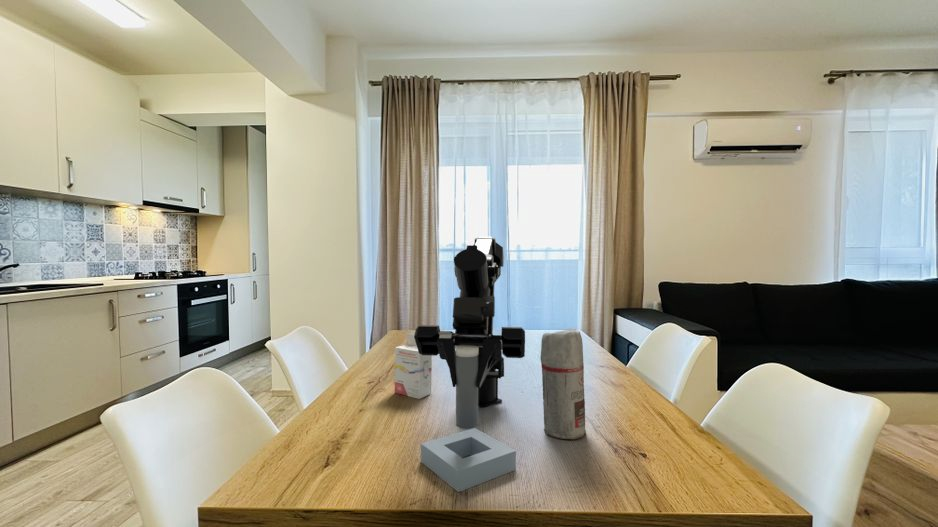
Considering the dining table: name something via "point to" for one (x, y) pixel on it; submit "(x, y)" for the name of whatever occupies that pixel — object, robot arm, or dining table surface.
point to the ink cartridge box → (412, 370)
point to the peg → (466, 386)
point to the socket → (467, 458)
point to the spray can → (563, 384)
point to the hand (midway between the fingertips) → (466, 386)
